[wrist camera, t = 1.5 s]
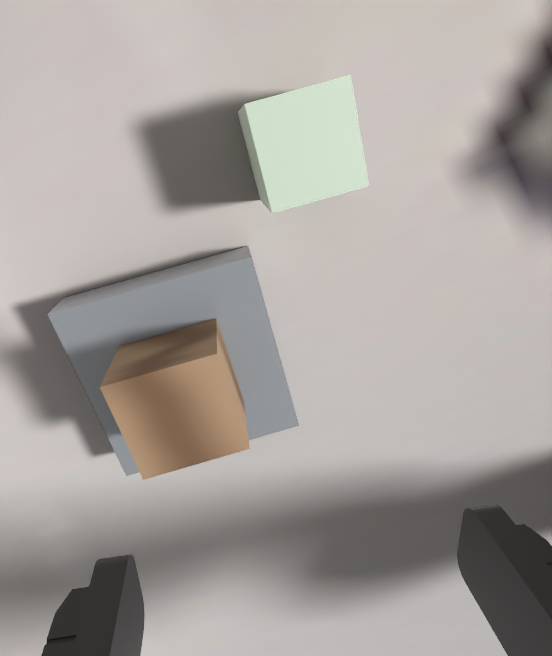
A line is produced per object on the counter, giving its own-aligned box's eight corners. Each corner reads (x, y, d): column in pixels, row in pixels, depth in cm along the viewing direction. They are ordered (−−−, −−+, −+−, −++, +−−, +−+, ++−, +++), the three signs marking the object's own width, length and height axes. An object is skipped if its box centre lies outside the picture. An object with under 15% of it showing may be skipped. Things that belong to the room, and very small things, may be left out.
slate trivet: (247, 245, 29) (251, 256, 26) (291, 402, 34) (299, 425, 31) (63, 297, 29) (47, 314, 26) (133, 448, 33) (126, 475, 31)
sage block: (321, 89, 26) (350, 74, 21) (338, 177, 28) (369, 186, 23) (237, 112, 26) (244, 104, 21) (260, 199, 28) (272, 213, 23)
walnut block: (216, 318, 27) (217, 353, 23) (243, 401, 30) (249, 448, 25) (118, 345, 27) (99, 387, 23) (154, 427, 30) (143, 479, 25)
